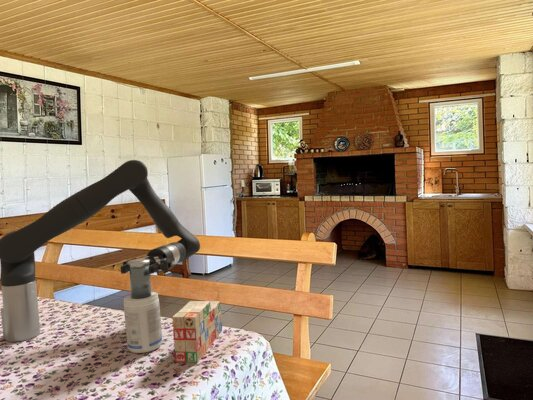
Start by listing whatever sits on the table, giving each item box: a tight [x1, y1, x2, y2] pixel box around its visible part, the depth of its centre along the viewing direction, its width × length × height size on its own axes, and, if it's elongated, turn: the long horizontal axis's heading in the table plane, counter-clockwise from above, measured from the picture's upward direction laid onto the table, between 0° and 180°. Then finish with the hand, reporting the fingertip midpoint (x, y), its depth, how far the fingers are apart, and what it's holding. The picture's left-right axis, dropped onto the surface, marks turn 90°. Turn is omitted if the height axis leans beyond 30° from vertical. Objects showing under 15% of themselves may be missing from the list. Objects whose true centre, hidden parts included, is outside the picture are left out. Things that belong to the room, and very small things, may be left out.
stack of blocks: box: [172, 300, 223, 364], centre depth 111 cm, size 21×6×12 cm, turn 169°
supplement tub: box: [123, 291, 163, 354], centre depth 111 cm, size 10×10×15 cm
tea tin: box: [128, 258, 152, 299], centre depth 110 cm, size 6×6×10 cm
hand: (135, 270), depth 108 cm, fingers open, 8 cm apart
